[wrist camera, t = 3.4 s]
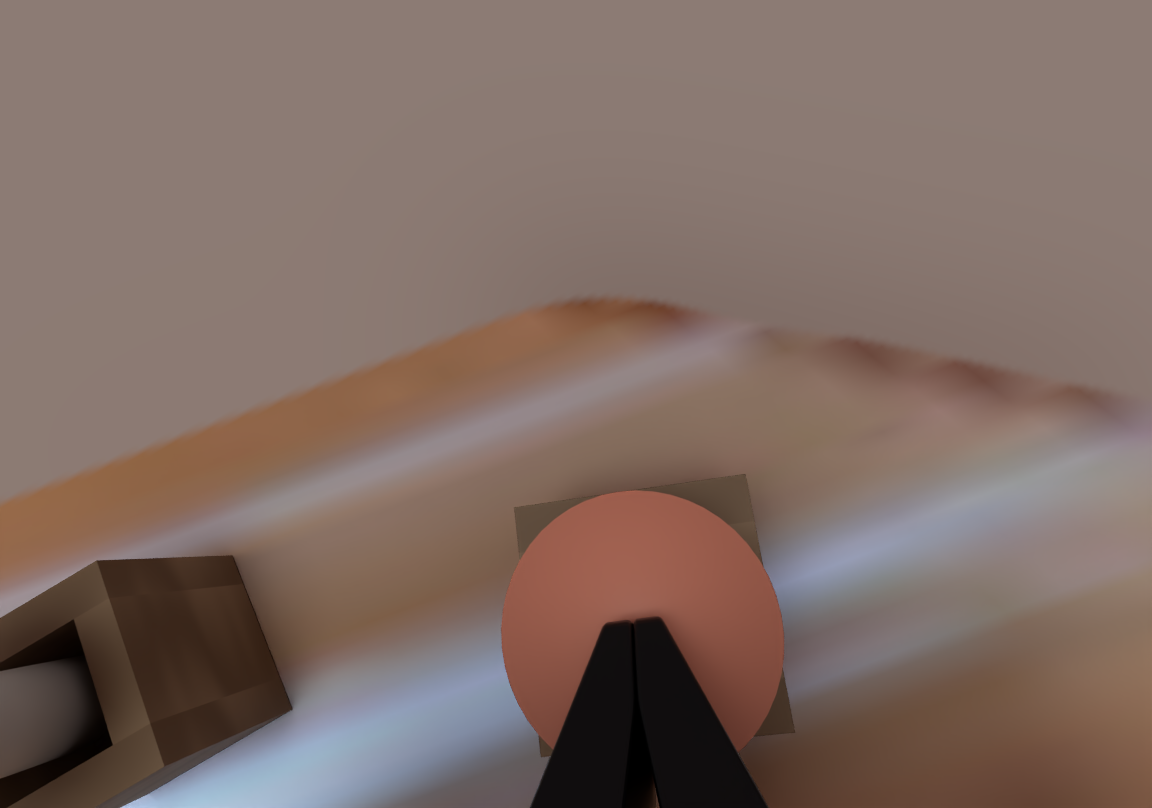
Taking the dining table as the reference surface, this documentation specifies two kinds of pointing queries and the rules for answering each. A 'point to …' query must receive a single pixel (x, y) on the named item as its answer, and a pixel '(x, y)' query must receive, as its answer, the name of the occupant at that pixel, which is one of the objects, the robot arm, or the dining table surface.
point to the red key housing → (713, 494)
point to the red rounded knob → (643, 605)
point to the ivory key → (47, 713)
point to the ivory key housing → (145, 674)
